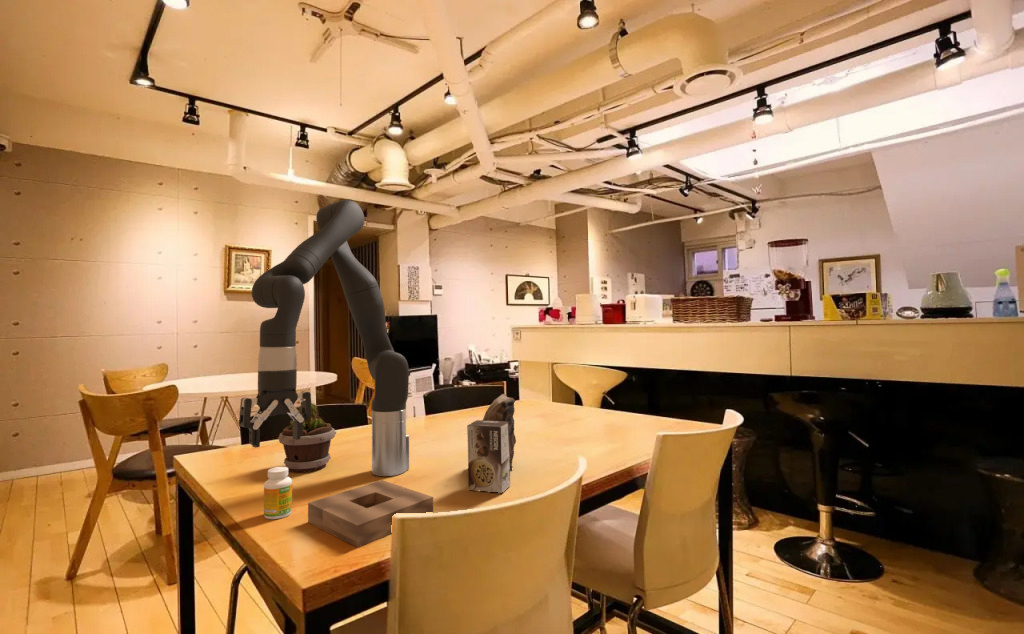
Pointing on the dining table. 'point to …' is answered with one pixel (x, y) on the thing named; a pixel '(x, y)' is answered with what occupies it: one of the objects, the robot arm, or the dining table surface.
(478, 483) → the coffee box
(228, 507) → the dining table surface
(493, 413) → the owl
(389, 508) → the socket board
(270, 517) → the supplement bottle
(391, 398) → the robot arm
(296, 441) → the flowerpot
